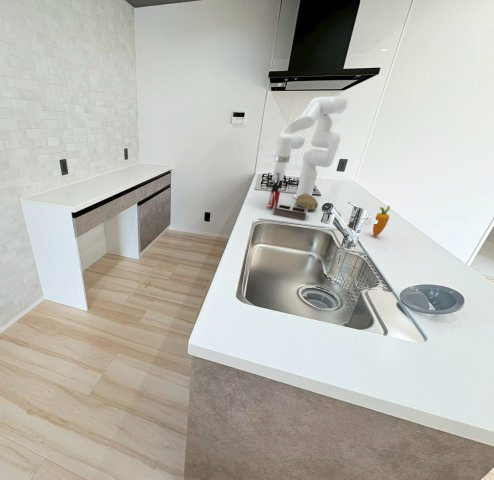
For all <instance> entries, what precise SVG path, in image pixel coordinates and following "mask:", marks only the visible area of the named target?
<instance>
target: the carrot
mask: <svg viewBox="0 0 494 480" xmlns="http://www.w3.org/2000/svg"><path fill="white" fill-rule="evenodd" d="M379 209H380V210H381V212H378V213H377V214H376V215H375V218H374V220H375V219H376V220H378V223H377V224H374V223H373V225H372V234H373V237H378V236H379V235H380V234H381V233H382V232H383V231H384V229H385V228H386V226H387V224H388V222H389V219H390V215H389V214H387V213H388V212H389V211H390V209H391V206H390V205H387V207H386V209H385V208H384V207H382V206H379Z"/></svg>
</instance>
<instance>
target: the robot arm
mask: <svg viewBox="0 0 494 480" xmlns="http://www.w3.org/2000/svg"><path fill="white" fill-rule="evenodd" d="M348 106H349V100H348V98H347V97H346V96H316V97H314V98H313V99H312V100H311V101H310V102H309V104H308V105H307V106H306V108H305V109H304V111H303V112H302V114H301V115H300V116H299V117H297V118H296V119H293V120H292V121H291V122H289V123H287V124H286V125H285V126H284V127H283V128H282V129H281V131H280V133H279V134H278V136H277V140H276V149H275V156H274V161H273V162H274V163H275V164H274V167H273V172H272V178H271V180H272V181H273V183H272V188H271V190H272V191H273V192H278V189H282V186H283V180H284V178H285V175H286V169H287V164H289V163H290V159H291V154H292V150H295V149H296V150H298V149H301V148H302V147H303V146H304V145H305V141H306V138H305V137H304V135H302V134H299V133H297V132H300V131H304V130H306V129H309V128H311V127H313V126H314V125H315V123H316V126H315V128H314V131H313V135H312V137H311V141H310V144H311V146H312V147H314V148H310V149H307V150H305V151H304V153H303V156H302V167H301V172H300V176H299V181H298V184H297V189H296V193H295V194H293V196H292V198H293V199H295V200H296V199H297V197H298V196H300V195H302V194H309V195H310V196H312V197H313V192H314V189H315V185H316V181H317V178H318V168H317V167H321V168H329V167H331V166H332V165H333V163H334V161H335V158H336V155H337V152H338V150H339V147H340V144H341V141H342V134H341V133H340V132H339V131H333V130H332V127H333V123H334V121H333V118H332V115H342V114H344V113H345V112H346V110H347V108H348ZM317 148H321V149H317ZM324 149H326V150H324Z"/></svg>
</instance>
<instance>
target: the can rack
mask: <svg viewBox="0 0 494 480" xmlns="http://www.w3.org/2000/svg"><path fill="white" fill-rule="evenodd" d="M308 211H309V210H308V209H306V208H303V207H301V206H295V205H288V204H281V203H278V205H277V206H276V207H275V210H273V215H274V216H278V217H285V218H290V219H295V220H300V221H306V218H307V215H308Z"/></svg>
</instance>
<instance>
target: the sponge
mask: <svg viewBox="0 0 494 480" xmlns="http://www.w3.org/2000/svg"><path fill="white" fill-rule="evenodd" d="M295 202H296V204H297V205H298V207H300V208H306V209H308V211H314V210H316V209H317V208H318V206H319V203H318V201H317V199H316V198H315V197H314V196H313V195H312V196H310V195H309V194H302V195H300V196H298V197H297V199H295Z"/></svg>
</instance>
